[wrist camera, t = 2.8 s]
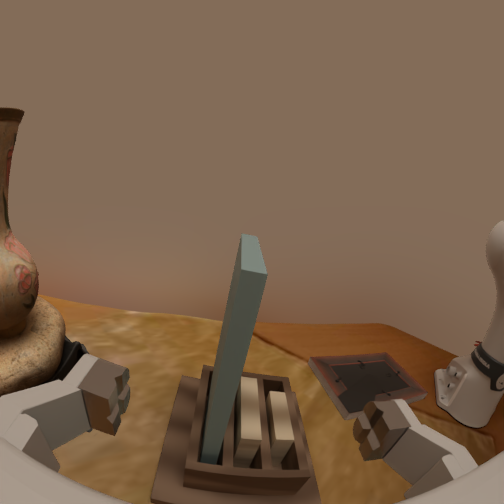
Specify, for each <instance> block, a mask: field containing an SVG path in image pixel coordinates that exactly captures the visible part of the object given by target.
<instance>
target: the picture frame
mask: <svg viewBox="0 0 504 504" xmlns="http://www.w3.org/2000/svg"><path fill="white" fill-rule="evenodd" d="M308 364H309V366H310V368H311V369H312V371H313V372H314V374H315V375H316V377H317V378H318V380H319V381H320V383H321V385H322V386H323V388H324V389H325V391H326V392H327V394H328V395H329V397H330V398H331V400H332V401H333V403H334V404H335V406H336V408H337V409H338V411H339V412H340V414H341V415H342V417H343V418H344V420H349V419H353V418H357V417H359V416H360V415H361V414H363V413H364V411H363V408H364V407H365V405H366V404H367V403H368V402H369V401H384V400H395V399H403V400H404V401H405V402H406V403H407V404H409V403H412V402H415V401H418V400H421V399H424V398H425V396H426V395H427V393H428V392H427V391H426V390H425V389H424V388H423V387H422V386H421V385H420V384H419V383H418V382H417V381H416V380H415V379H413V378H412V377H411V376H410V375H409V374H408V373H407V372H406V371H405V370H404V369H403V368H402V367H401V366H400V365H399V364H398V363H397V362H396V361H395V360H394V359H393V358H392V357H391V356H390V355H389V354H388V353H375V354H363V355H347V356H326V357H310V359H309V362H308Z"/></svg>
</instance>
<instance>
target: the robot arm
mask: <svg viewBox="0 0 504 504" xmlns="http://www.w3.org/2000/svg"><path fill="white" fill-rule="evenodd" d="M486 257H487V262H488V265H489V267H490V269H491V271H492V273H493V276H494V279H495V283H496V290H497V301H496V307H495V311H494V315H493V318H492V320H491V323H490V326H489V329H488V331H487V333H486V335H485V337H484V340H483V342H479V341H476V342H477V343H479V344H475V346H477V348H476V349H475V350H474V351H473V352H472V353H471V354H469V355H466V356H462V357H457V358H454V359H453V360H452V361H451V362H450V364H449V365H448V367H447V368H446V369H438V370H436V371H435V373H434V377H435V387H436V401H437V405H438V406H440V407H441V408H443V409H444V410H446V411H448V412H449V413H450V414H451V415H452V416H453V417H454V418H455V419H456V420H458V421H459V422H461V423H463V424H465V425H467V426H470V427H475V428H479V427H483V426H485V425H486V424H487V423H488V422H489V419H490V417H491V415H492V414H493V413H494V411H495V408H496V406H497V404H498V402H499V400H500V399H501V397H502V395H503V393H504V221H500V222H499V223H498V224H496V225H495V226H494V228H493V229H492V230H491V232H490V234H489V237H488V239H487V244H486ZM129 378H130V377H129V369H128V368H125V367H123V366H120V365H117V364H114V363H111V362H109V361H106V360H103V359H101V358H97V357H95V356H92V355H90V354H88V353H87V354H84V355H83V356H82V357H81V359H80V360H79V361H78V362H77V363H76V365H75V366H74V367H73V368H72V370H71V371H70V372H69V373H68V375H67V376H66V377H65V378H64V380H63V381H61V380H55V381H52V382H49V383H46V384H42V385H39V386H36V387H32V388H29V389H25V390H22V391H18V392H14V393H11V394H7V395H3V396H1V397H0V504H133V503H129V502H126V501H123V500H120V499H117V498H114V497H112V496H109V495H106V494H104V493H101V492H99V491H96V490H94V489H91V488H89V487H87V486H84V485H82V484H80V483H78V482H76V481H74V480H71V479H69V478H67V477H65V476H63V475H61V474H60V473H58V471H59V469H60V465H59V463H58V461H57V459H56V457H55V456H54V454H53V452H52V450H54V449H56V448H58V447H59V446H61V445H63V444H65V443H67V442H68V441H70V440H72V439H74V438H75V437H77V436H79V435H81V434H82V433H84V432H86V431H88V430H89V429H90V427H91V428H93V429H96V430H99V431H101V432H104V433H107V434H110V435H113V436H115V434H116V432H117V430H118V427H119V425H120V423H121V419H120V415H121V414H123V413H125V411H126V409H127V407H128V403H129V399H130V387H129V385H128V384H127V382H128V380H129ZM363 411H364V413H363V414H361V415H360V416H359V417H357V419H356V421H355V422H354V426H353V435H354V438H355V440H356V441H358V442H359V443H360V447H359V450H360V452H361V455H362V457H363V460H364V461H369V460H376V459H382V460H383V461H385V462H386V463H387V464H388V465H389V466H390V467H391V468H393V469H394V470H395V471H396V472H397V473H398V474H400V475H401V476H402V477H403V478H404V479H405V480H407V481H408V482H409V483H410V484H411V485H413V486H412V487H411V488H409V489H408V490H407V491H406V492H405V494H404V496H405V498H406V500H403V501H400V502H397V503H394V504H504V451H502V452H501V453H499V454H498V455H496V456H495V457H493V458H492V459H490V460H488V461H487V462H485V463H483V464H482V465H480V466H478V465H477V464H476V462H475V461H474V459H473V458H472V456H471V455H470V453H469V452H468V451H467V449H466V448H465V447H464V446H462V445H460V444H458V443H456V442H455V441H453V440H451V439H449V438H447V437H445V436H444V435H442V434H440V433H438V432H436V431H435V430H433V429H431V428H429V427H428V426H426V425H421V423H420V422H419V420H418V419H417V418H416V416H415V415H414V413H413V412H412V410H411V409H410V407H409V406H408V404H407V403H406V402H405V401H404V400H403V399H395V400H384V401H369V402H368V403H367V404H366V405H365V407H364V408H363Z"/></svg>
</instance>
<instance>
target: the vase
mask: <svg viewBox="0 0 504 504" xmlns="http://www.w3.org/2000/svg"><path fill="white" fill-rule="evenodd" d="M23 115H24V111H23V110H20V109H17V108H2V107H1V108H0V397H1V396H3V395H7V394H11V393H14V392H18V391H22V390H25V389H29V388H32V387H36V386H39V385H42V384H46V383H49V382H52V381H55V380H61V381H63V380H64V378H65V377H66V376H67V375H68V373H69V372H70V371H71V370H72V368H73V367H74V366H75V365H76V363H77V362H78V361H79V360H80V359H81V357H82V356H83V355H84V354H87V353H88V352H87V350H86V348H85V346H84V345H83V344H81V343H80V342H77V341H76V342H73V343H72V342H71V341H70V340H69V339H68V338H67V337H66V336H65V323H64V320H63V317H62V316H61V314H60V313H59V311H58V310H57V309H56V308H55V307H54V306H53V305H51V304H50V303H49V302H47V301H46V300H44V299H42V298H41V297H39V296H37V295H38V288H39V286H38V285H39V284H38V275H39V274H38V272H37V269H36V266H35V263H34V261H33V259H32V256H31V255H30V253H29V252H28V251H27V250H26V249H25V247H24V246H23V245H22V244H21V243H20V242H19V241H18V240H17V239H16V238H15V237H14V235H13V234H12V231H11V228H10V225H9V219H8V186H9V174H10V167H11V159H12V153H13V150H14V145H15V141H16V136H17V131H18V126H19V124H20V122H21V120H22V117H23ZM88 354H89V353H88ZM92 429H93V428H91V427H90V429H89V430H88V431H87V432H91V431H92Z"/></svg>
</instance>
